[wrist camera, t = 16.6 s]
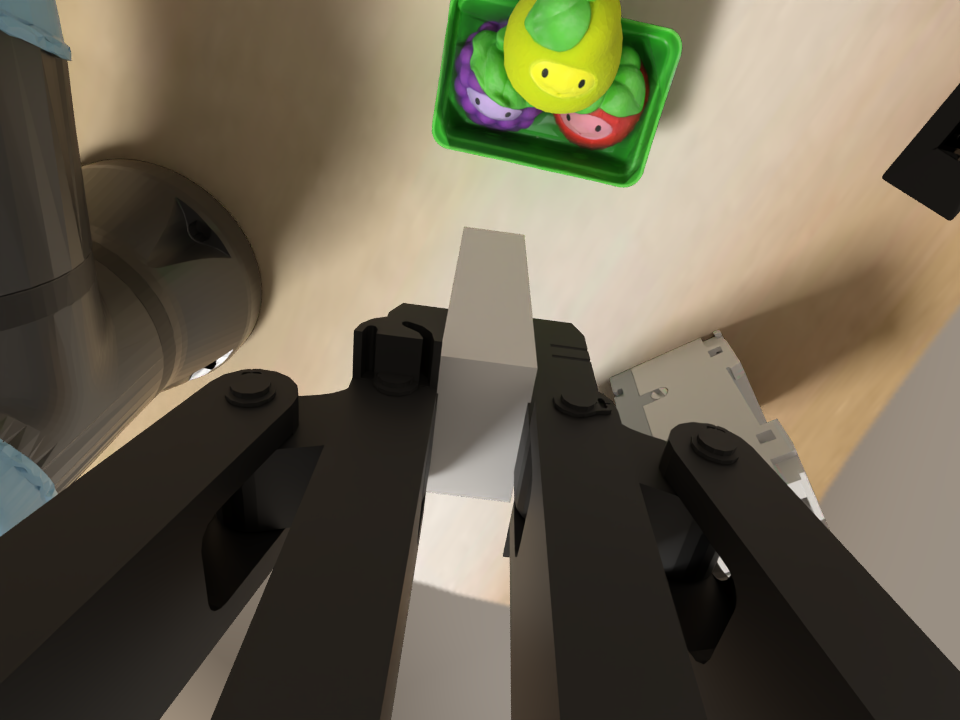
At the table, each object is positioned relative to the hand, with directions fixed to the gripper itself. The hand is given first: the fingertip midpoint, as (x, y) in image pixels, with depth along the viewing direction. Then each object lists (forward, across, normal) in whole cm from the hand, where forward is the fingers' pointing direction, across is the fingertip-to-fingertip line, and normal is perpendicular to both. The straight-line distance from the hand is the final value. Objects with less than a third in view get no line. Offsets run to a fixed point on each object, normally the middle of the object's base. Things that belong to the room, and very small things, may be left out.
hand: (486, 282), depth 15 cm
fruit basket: (+24, -3, -4) cm, 25 cm away
